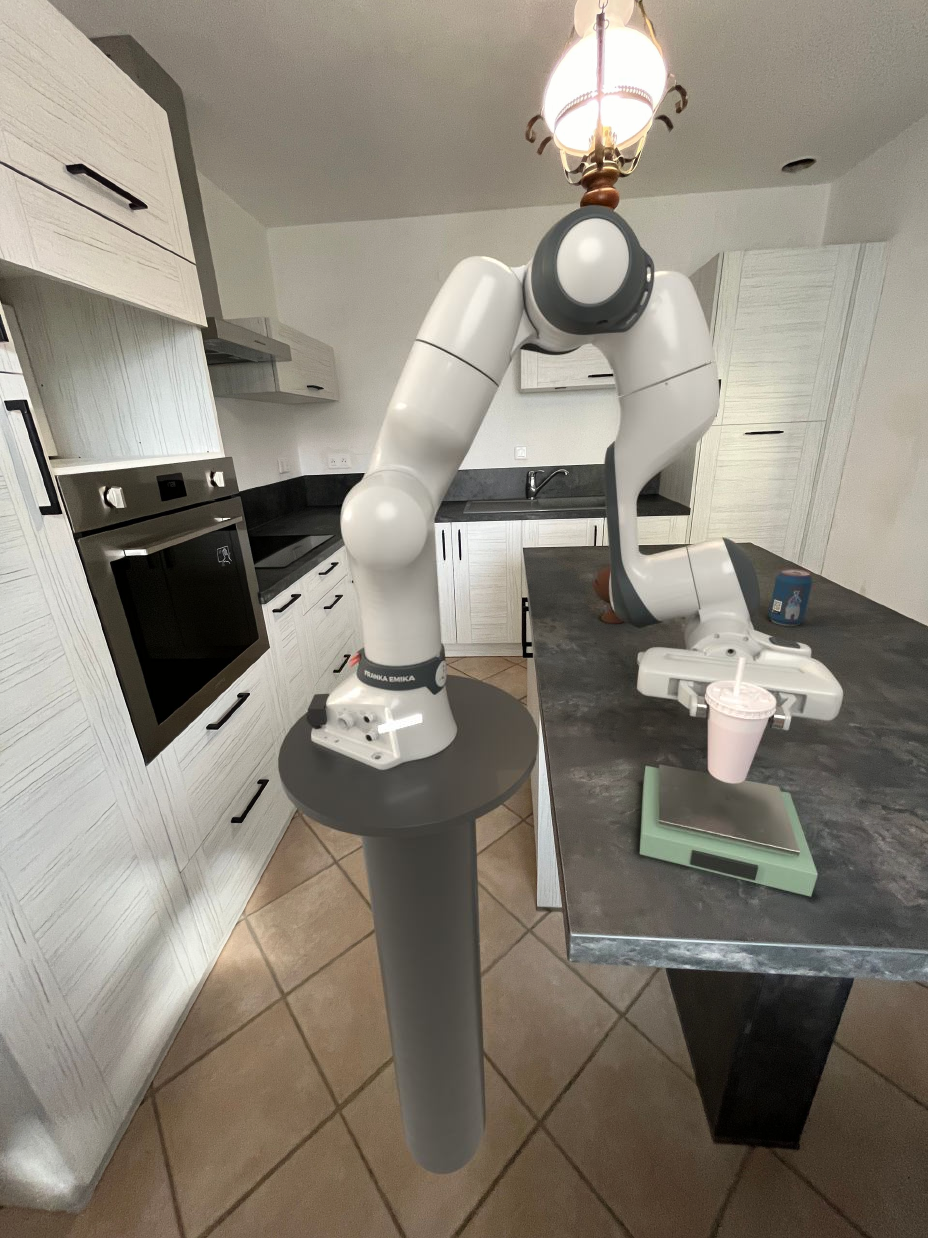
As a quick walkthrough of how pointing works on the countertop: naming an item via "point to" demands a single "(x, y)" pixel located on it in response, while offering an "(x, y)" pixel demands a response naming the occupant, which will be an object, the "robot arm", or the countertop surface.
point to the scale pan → (725, 810)
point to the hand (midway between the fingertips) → (739, 717)
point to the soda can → (790, 597)
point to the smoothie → (735, 725)
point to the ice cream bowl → (605, 594)
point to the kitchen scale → (726, 849)
